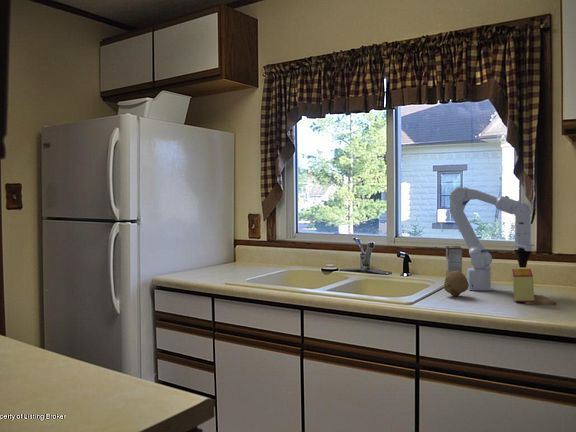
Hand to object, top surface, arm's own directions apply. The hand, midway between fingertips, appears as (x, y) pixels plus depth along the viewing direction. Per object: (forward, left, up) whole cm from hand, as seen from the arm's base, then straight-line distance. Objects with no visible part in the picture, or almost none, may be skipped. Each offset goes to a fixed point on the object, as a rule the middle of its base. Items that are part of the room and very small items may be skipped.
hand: (522, 267), depth 202 cm
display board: (0, -14, -10) cm, 18 cm away
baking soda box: (-2, -5, -5) cm, 7 cm away
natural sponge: (-27, -8, -11) cm, 30 cm away
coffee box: (-22, +26, -11) cm, 35 cm away
